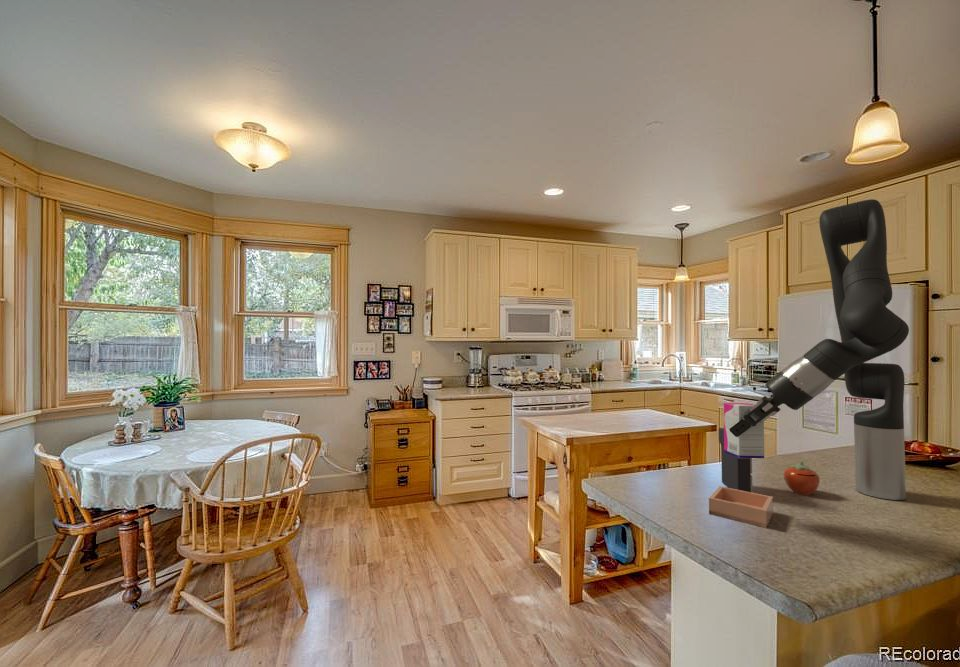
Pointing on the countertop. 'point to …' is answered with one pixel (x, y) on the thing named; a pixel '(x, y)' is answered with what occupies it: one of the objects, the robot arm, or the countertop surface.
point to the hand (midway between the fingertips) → (736, 430)
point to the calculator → (735, 469)
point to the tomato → (801, 479)
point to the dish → (741, 506)
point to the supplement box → (747, 442)
